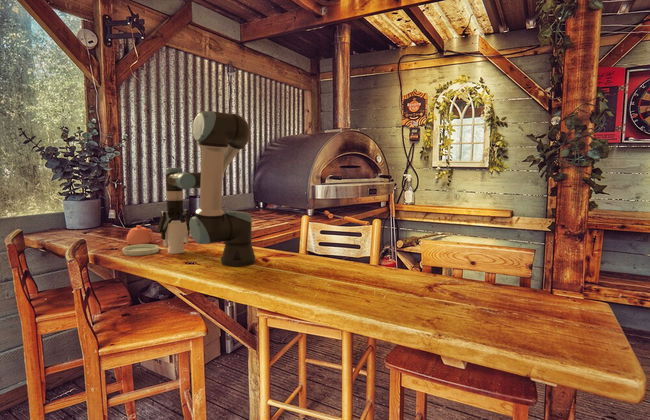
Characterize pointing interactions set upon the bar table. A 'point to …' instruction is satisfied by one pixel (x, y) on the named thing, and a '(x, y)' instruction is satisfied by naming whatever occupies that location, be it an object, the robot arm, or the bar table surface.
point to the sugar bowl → (139, 236)
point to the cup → (176, 236)
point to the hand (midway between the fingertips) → (176, 244)
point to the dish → (140, 249)
